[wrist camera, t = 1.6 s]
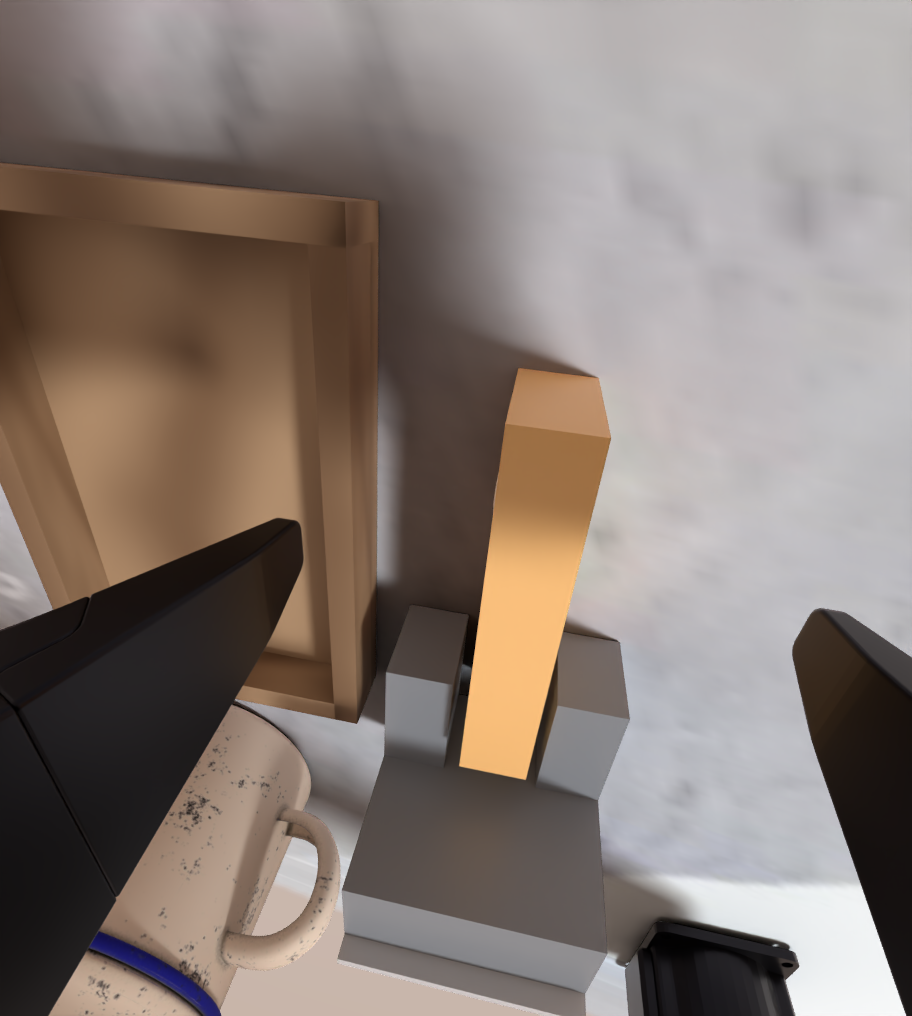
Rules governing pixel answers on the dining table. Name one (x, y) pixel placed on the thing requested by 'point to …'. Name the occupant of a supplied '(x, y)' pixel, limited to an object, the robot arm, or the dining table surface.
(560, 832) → the grey slotted holder
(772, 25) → the dining table surface
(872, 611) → the dining table surface
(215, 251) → the tray
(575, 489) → the tan elongated block
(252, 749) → the teacup with lid
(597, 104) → the dining table surface
